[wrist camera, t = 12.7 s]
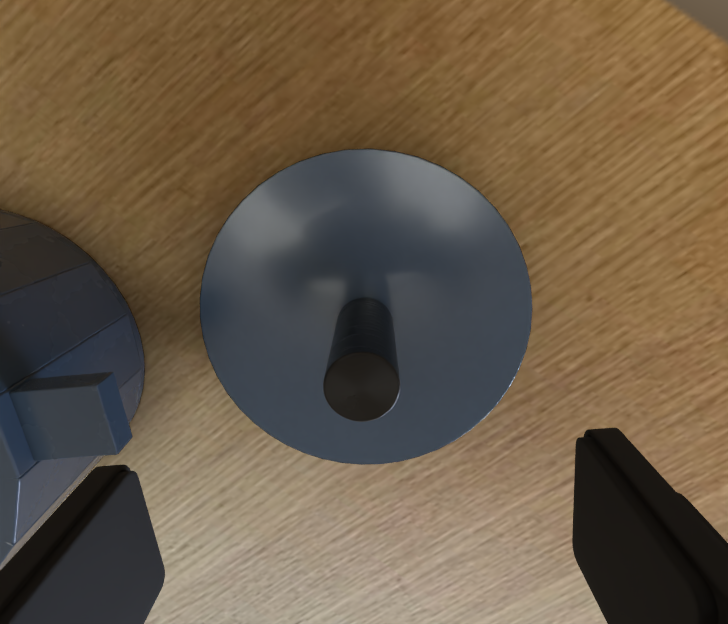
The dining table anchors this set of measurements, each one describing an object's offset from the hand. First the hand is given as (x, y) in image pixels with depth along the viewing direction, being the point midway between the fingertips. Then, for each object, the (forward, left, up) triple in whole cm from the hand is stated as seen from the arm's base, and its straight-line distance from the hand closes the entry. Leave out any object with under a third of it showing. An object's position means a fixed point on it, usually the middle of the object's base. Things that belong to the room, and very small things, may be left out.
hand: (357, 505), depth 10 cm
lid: (0, 0, -11) cm, 11 cm away
